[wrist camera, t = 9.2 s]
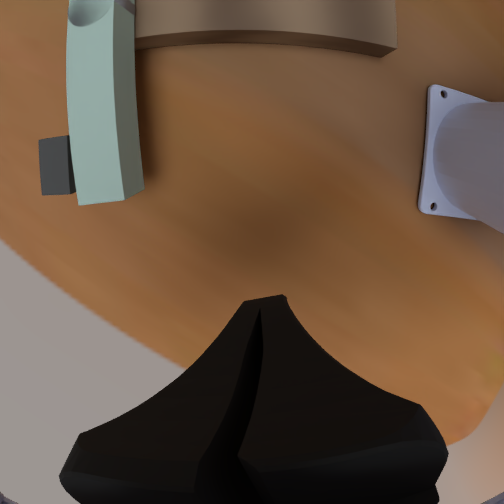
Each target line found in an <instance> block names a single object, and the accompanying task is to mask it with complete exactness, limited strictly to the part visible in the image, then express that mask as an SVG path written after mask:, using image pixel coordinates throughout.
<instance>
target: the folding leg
mask: <svg viewBox="0 0 504 504" xmlns="http://www.w3.org/2000/svg"><path fill="white" fill-rule="evenodd" d="M134 15H135V0H70V2H69V8H68V28H67V54H66V79H67V107H68V123H69V135H70V146H71V155H72V163H73V171H74V178H75V185H76V192H77V198H78V204H79V205H87V204H95V203H103V202H112V201H121V200H126V199H128V198H129V197H131V196H133V195H135V194H137V193H139V192H140V191H142V190H144V189H145V187H144V179H143V170H142V161H141V152H140V141H139V130H138V117H137V102H136V84H135V54H134Z"/></svg>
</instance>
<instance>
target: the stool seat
mask: <svg viewBox="0 0 504 504" xmlns="http://www.w3.org/2000/svg"><path fill="white" fill-rule="evenodd" d="M206 43H269V44H286V45H299V46H310V47H319V48H327V49H335V50H342V51H348V52H354V53H360V54H366V55H371V56H376V57H383V56H385V55H387V54H388V53H390V52H392V51H394V50H395V49H397V24H396V7H395V0H135V15H134V50H140V49H148V48H156V47H165V46H176V45H188V44H206Z"/></svg>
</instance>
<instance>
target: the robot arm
mask: <svg viewBox="0 0 504 504" xmlns="http://www.w3.org/2000/svg"><path fill="white" fill-rule="evenodd" d="M441 91H443V92H444V95H445V96H444V98H443V97H442V96H441ZM432 203H434V208H433V209H430V206H431V204H432ZM418 208H419V210H420V211H421V212H423V213H425V214H433V215H441V216H449V217H457V218H465V219H472V220H479V221H481V222H483V223H485V224H487V225H489V226H490V227H492V228H494V229H496V230H497V231H499V232H501V233H502V234H504V102H488V101H485V100H483V99H480V98H477V97H474V96H472V95H469V94H466V93H463V92H460V91H457V90H454V89H450V88H447V87H444V86H440V85H436V84H434V85H431V86H430V87H429V88H428V103H427V124H426V139H425V151H424V161H423V170H422V178H421V186H420V193H419V200H418ZM448 454H449V453H448V450H447V448H446V444H445V442H444V439H443V437H442V435H441V434H440V432H439V430H438V429H437V427H436V425H435V424H434V422H433V421H432V419H431V418H430V417H429V415H428V414H427V412H426V411H425V410H424V408H423V407H422V406H421V405H420V404H417V403H414V402H412V401H409V400H407V399H404V398H401V397H399V396H396V395H394V394H391V393H389V392H386V391H384V390H382V389H380V388H378V387H377V386H375V385H373V384H371V383H369V382H368V381H366V380H364V379H363V378H361V377H360V376H358V375H357V374H355V373H353V372H352V371H350V370H349V369H347V368H346V367H344V366H343V365H342V364H341V363H339V362H338V361H337V360H335V359H334V358H333V357H332V356H331V355H329V354H328V353H327V352H326V351H325V350H324V349H323V348H322V347H321V346H320V345H319V344H318V343H317V342H316V341H315V340H314V339H313V338H312V337H311V336H310V335H309V334H308V332H307V331H306V330H305V329H304V327H303V326H302V325H301V323H300V322H299V321H298V319H297V318H296V317H295V315H294V314H293V312H292V310H291V308H290V307H289V305H288V302H287V298H286V296H284V295H283V294H281V295H276V296H270V297H265V298H259V299H254V300H248V301H244V302H243V303H242V304H241V306H240V307H239V308H238V310H237V311H236V313H235V314H234V315H233V317H232V318H231V320H230V321H229V322H228V324H227V325H226V326H225V328H224V329H223V330H222V332H221V333H220V334H219V336H218V337H217V338H216V339H215V340H214V342H213V343H212V344H211V345H210V346H209V347H208V348H207V350H206V351H205V352H204V353H203V354H202V355H201V356H200V357H199V358H198V359H197V360H196V361H195V362H194V363H193V364H192V365H191V366H190V367H189V368H188V369H187V370H186V371H185V372H184V373H182V374H181V375H180V376H179V377H178V378H177V379H175V380H174V381H173V382H172V383H170V384H169V385H168V386H166V387H165V388H164V389H162V390H161V391H159V392H158V393H157V394H155V395H154V396H153V397H151V398H150V399H148V400H147V401H145V402H143V403H142V404H140V405H139V406H137V407H135V408H134V409H132V410H130V411H128V412H126V413H125V414H123V415H121V416H119V417H117V418H115V419H113V420H111V421H109V422H107V423H104V424H102V425H100V426H97V427H95V428H93V429H91V430H88V431H86V432H83V433H80V434H79V436H78V438H77V440H76V442H75V444H74V446H73V448H72V450H71V452H70V454H69V456H68V458H67V460H66V462H65V464H64V467H63V468H62V470H61V473H60V475H59V478H60V482H61V484H62V485H63V487H64V489H65V490H66V492H68V493H69V494H70V495H71V496H72V497H73V498H74V499H75V500H77V501H78V502H79V503H80V504H438V502H439V495H438V492H437V489H436V486H435V484H436V482H437V480H438V478H439V476H440V474H441V472H442V470H443V468H444V466H445V464H446V462H447V457H448ZM0 504H18V503H16V502H14V501H12V500H10V499H8V498H6V497H4V495H3V494H2V493H1V492H0ZM482 504H504V492H503V493H501V494H499V495H497V496H495V497H493V498H491V499H489V500H487V501H485V502H483V503H482Z"/></svg>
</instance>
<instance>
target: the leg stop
mask: <svg viewBox="0 0 504 504" xmlns="http://www.w3.org/2000/svg"><path fill="white" fill-rule="evenodd" d="M39 163H40V178H41V189H42V195H64V194H72V193H74V192H76V185H75V178H74V171H73V163H72V155H71V146H70V135H67V136H60V137H53V138H47V139H41V140H39Z"/></svg>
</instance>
